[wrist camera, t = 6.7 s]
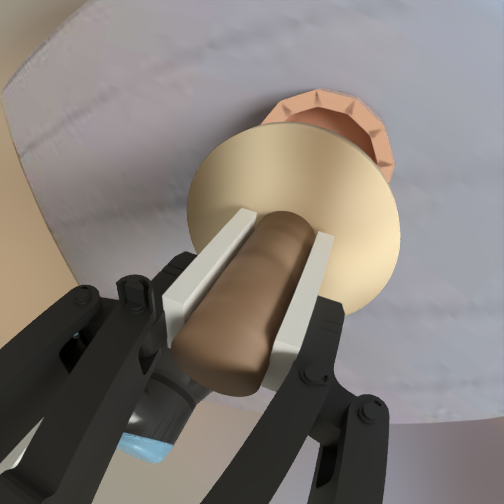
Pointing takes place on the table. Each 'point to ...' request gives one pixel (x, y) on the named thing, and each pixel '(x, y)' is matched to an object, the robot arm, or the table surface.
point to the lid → (281, 242)
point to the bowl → (340, 121)
